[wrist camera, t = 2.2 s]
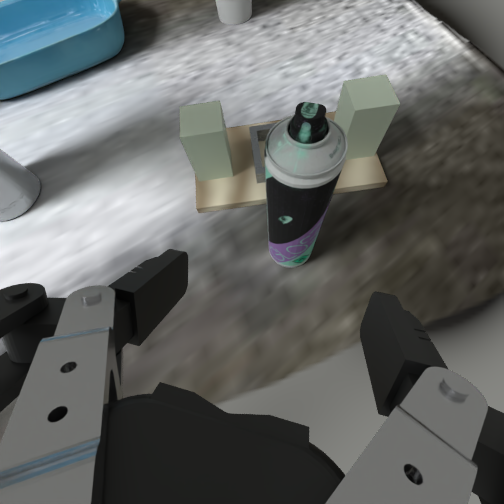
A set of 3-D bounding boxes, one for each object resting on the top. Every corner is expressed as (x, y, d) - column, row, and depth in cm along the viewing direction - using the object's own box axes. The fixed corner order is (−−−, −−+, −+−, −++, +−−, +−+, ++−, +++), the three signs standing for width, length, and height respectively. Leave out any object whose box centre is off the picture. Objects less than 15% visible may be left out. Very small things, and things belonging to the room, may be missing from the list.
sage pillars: (198, 181, 36) (179, 137, 29) (197, 154, 38) (179, 106, 31) (373, 155, 35) (400, 103, 28) (363, 129, 37) (386, 74, 30)
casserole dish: (121, 3, 59) (101, -41, 53) (154, 51, 51) (136, 6, 45) (-36, 66, 55) (-79, 26, 48) (-27, 128, 47) (-76, 91, 40)
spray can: (275, 272, 31) (276, 157, 13) (264, 234, 34) (252, 88, 15) (317, 261, 32) (378, 132, 13) (304, 224, 34) (340, 67, 15)
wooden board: (198, 213, 36) (196, 208, 35) (196, 139, 41) (193, 133, 40) (384, 186, 35) (387, 181, 34) (356, 114, 40) (359, 107, 39)
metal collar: (256, 183, 35) (255, 174, 33) (250, 137, 38) (249, 126, 37) (318, 174, 35) (320, 164, 33) (306, 129, 38) (308, 117, 36)
